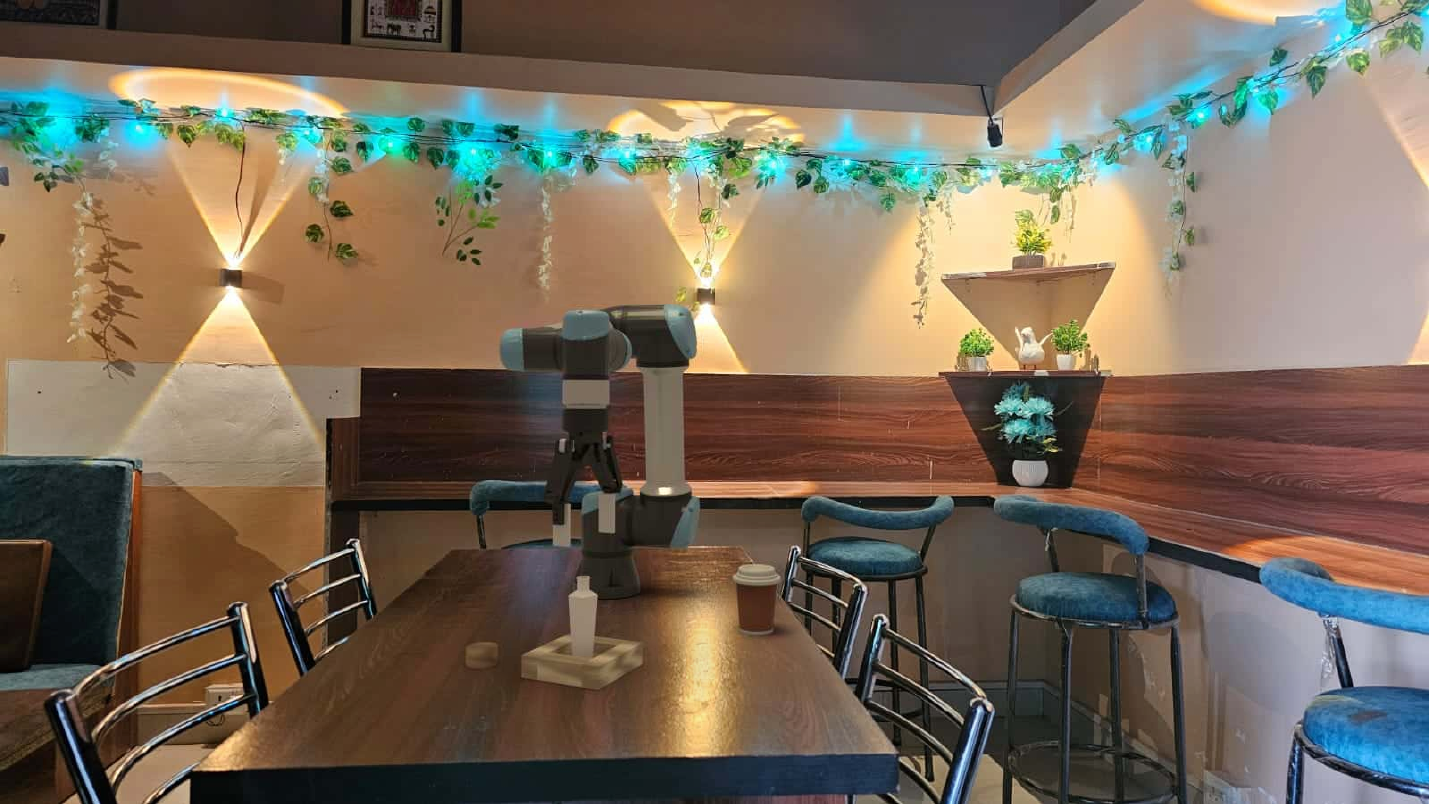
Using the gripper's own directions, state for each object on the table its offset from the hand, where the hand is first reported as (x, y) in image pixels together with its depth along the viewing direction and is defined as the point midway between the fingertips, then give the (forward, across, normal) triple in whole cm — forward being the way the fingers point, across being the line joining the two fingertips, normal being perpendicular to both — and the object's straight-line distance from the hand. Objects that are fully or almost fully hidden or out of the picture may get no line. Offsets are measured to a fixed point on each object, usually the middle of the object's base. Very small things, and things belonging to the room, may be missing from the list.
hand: (585, 539), depth 136 cm
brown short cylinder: (+21, +5, -17) cm, 27 cm away
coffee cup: (+22, -33, +17) cm, 43 cm away
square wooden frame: (+21, +1, 0) cm, 21 cm away
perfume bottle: (+21, +1, 0) cm, 21 cm away
